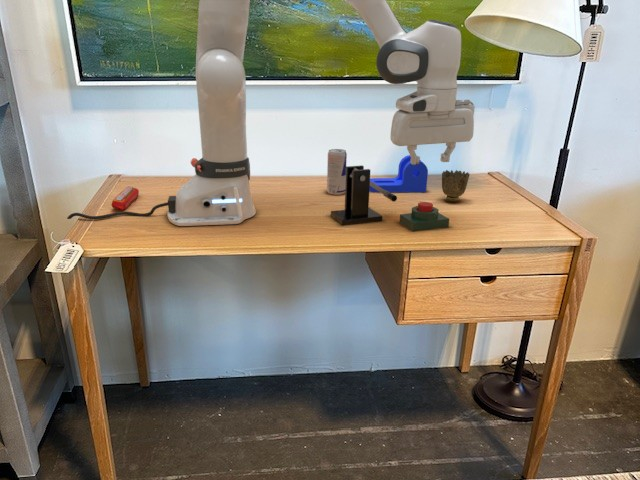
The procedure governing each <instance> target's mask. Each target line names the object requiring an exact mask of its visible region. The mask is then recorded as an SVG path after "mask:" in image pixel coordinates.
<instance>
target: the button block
mask: <svg viewBox="0 0 640 480" xmlns="http://www.w3.org/2000/svg"><path fill="white" fill-rule="evenodd" d="M439 211H440V210H439V208H437V207H435V206H433V211H432V212H421V211H418V205H414V206H412V207H411V211H410V212H409V213H400V214H399V219H398V220H399V221H398V223H399V224H400V225H402V226H404V227H405V228H406V229H408V230H410V231H411V232H421V231H428V230H437V229H447V228H449V226H450V218H449V217H447V216H445V215H444V214H442V213H441V212H439Z"/></svg>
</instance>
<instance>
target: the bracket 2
mask: <svg viewBox="0 0 640 480" xmlns="http://www.w3.org/2000/svg"><path fill="white" fill-rule="evenodd" d="M410 161H411V156H410V154H408V155H405V156H404V157H403V158H401V159H400V161H399V164H398V169H397V170H398V171H397V176H395V177H382V178H381V177H380V178H379V177H374V178H373V177H372V178H370V181H371V182H373V183H374V184H376V185H377V186H379V187H381V188H382V189H384V190H385V191H389V192H390V193H427V187H428V186H427V185H428V176H429V170H428V166H427V165H426V164H425V163H424V162H423V161H422V160H421V159H420V160H419V162H420V163H419V164H415V165H413V164H411V162H410ZM369 193H379V194H381V192H379V191H378V190H376V189H374V188H373V187H371V186H370V189H369Z"/></svg>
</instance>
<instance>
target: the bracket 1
mask: <svg viewBox="0 0 640 480" xmlns="http://www.w3.org/2000/svg"><path fill="white" fill-rule="evenodd" d="M354 168H356V169H358V170H353V169H354ZM351 173H352V177H350V174H351ZM370 179H371V169H370V168H365V167H364V165H361V164H360V165H348V166H347V165H346V186H345V193H344V209H339V210H330V217H331V218H332V219H333V220H335V221H336V222H337V223H339V224H340V225H341V226H350V225H358V224H369V223H376V222H383V215H382V214H380V213H378V212H377V211H375V210H374V209H372V208H371V207H369V206H370V205H369V204H370V192H369V189H370Z"/></svg>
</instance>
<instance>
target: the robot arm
mask: <svg viewBox="0 0 640 480" xmlns="http://www.w3.org/2000/svg"><path fill="white" fill-rule="evenodd" d="M344 1H345V2H346V3H348V4H349V5H350V6H351V7H353V8H354V9H355V10H356V11H357V13H358V14H359V15H360V16H361V18H362V20H363V21H364V23H365V24H366V26H367V28H368V29H369V31H370V33H371V34H372V36H373V38H374V39H375V41H376V42H377V44H378V47H379V51H378V52H377V55H376V62H375V64H376V69H377V72H378V75H379V76H380V77H381V79H383V80H384V81H385V82H386V83H389V84H391V85H394V86H395V85H396V86H399V85H404V84H407V83H413V82H416V83H417V87H416V90H415V91H413V92H411V93H410V94H407V95H404V96H402V97H399V98H397V99H396V101H395V108H396V109H397V110H396V111H395V113H394V114H393V116H392V120H391V127H390V141H391V143H392V144H393V145H395V146H398V147H406V149H407V152H408V155H410V156H411V161H410V162H411V164H413V165H415V164H419V163H420V162H419V160H421V156H420V155H419V156H418V155H417V153H416V150H417V149H418V146H423V145H424V146H425V145H437V144H438V145H439V144H445V146H446V148H445V150H444V152H442V153H440V158H439V159H440V162H441V163H449V162H450V160H451V159H450V158H451V154H452V153H453V151H454V150H455V148H456V145H457V143H465V142H467V143H468V142H471V140H473V137H474V126H475V125H474V120H475V119H474V116H475V109H476V108H475V104H474V103H473V102H472V101H471V100H470V99H457V94H458V93H457V92H458V81H457V80H458V79H457V78H458V77H457V76H458V73H459V69H460V66H461V55H462V33H461V30H460V29H459V28H458V26H457V25H455V24H454V23H450V22H447V21H443V20H437V19H429V20H426V21H425V22H423V24H421V25H420V26H418V27H416V28H415V29H413V30H411V31H409V32H407V31H406V30H405V29H404V28H403V26H402V25H401V24H400V22H399V20H398V19H397V16H396V15H395V13H394V12H393V10H392V8H391V7H390V4H388V3H389V2H388V1H387V0H344ZM250 4H251V0H199V1H198V15H197V16H198V18H197V34H196V35H197V37H196V50H195V51H196V53H195V55H196V56H195V81H196V82H195V83H196V94H197V96H196V97H197V108H198V109H197V110H198V118H199V121H198V122H199V133H200V143H201V144H200V145H201V156H202V157H201V158H200V159H197V158H195V157H193V158H192V159H191V160H190V165H191V166H192V167H193V168H194V173H195V174H194V175H193V176H192V177H190V179H189V180H187V181H186V182H185V183H184V184H183V185H182V186H180V187H179V188H178V190H177V191H176V195H169V196H168V199H167V202H163V203H159V204H157V205H154V206H153V207H152V208H151V210H150V211H149V212H146V213H145V212H144V213H139V212H133V211H117V212H112V213H111V212H110V213H107V214H103V215H102V214H101V215H87V214H84V213H81V212H72V213H71V214H69V215H68V216H67V217H66V219H67V220H71V219H72V218H74V217H81V218H83V219H86V220H87V219H88V220H101V219H102V220H103V219H107V218H113V217H117V216H125V215H126V216H135V217H149V216H151V215H153V214H154V212H155V211H156V210H158V209H159V208H162V207H163V208H164V207H168V208H167V209H168V210H167V214H166V216H167V219H168V221H169V223H171V224H173V225H175V226H178V227H194V226H197V227H198V226H220V225H222V226H223V225H240V224H241V223H242V222H244V221H245V220H247V219H251V218H252V217H254V216H255V215H256V214H257V210H256V207H255V204H254V201H253V196H252V191H251V183H250V181H251V163H250V158H249V157H248V146H247V144H248V143H247V85H246V83H247V81H246V70H245V67H244V58H245V57H244V55H245V48H246V40H247V33H248V27H249V19H250V18H249V17H250V7H251V5H250Z"/></svg>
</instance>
